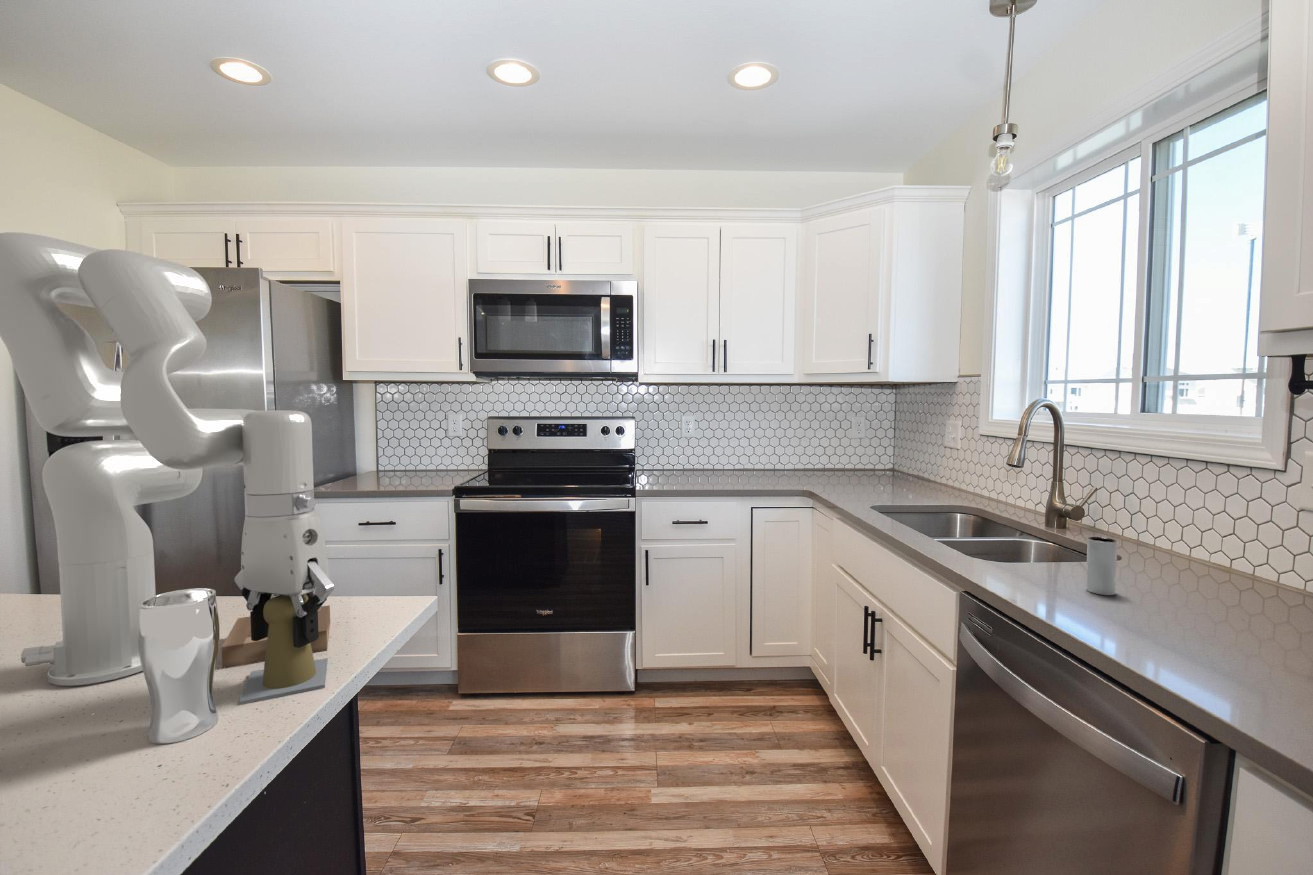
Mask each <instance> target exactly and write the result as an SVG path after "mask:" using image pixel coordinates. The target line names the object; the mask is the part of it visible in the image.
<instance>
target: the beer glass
mask: <svg viewBox="0 0 1313 875" xmlns="http://www.w3.org/2000/svg"><path fill="white" fill-rule="evenodd" d="M216 593H217V591H216V590H215V589H213V588H205V587H203V588H202V587H200V588H199V587H198V588H197V587H196V588H186V589H185V588H184V589H179V590H173V591H168V592H163V593H160V594H156V595H155V596H152V597H149V598H147V599H145V600H143V601H141V602H140V603H139V619H138V649H139V657H140V662H141V666H142V670H143V671H142V673H143V677H144V680H145V683H146V686H147V690H148V694H149V698H150V704H151V712H150V714H151V715H150V721H149V722H150V723H149V727H148V732H147V740H148V742H150V743H152V744H155V745H156V744H157V745H168V744H174V743H179V742H180V743H181V742H183V741H186V740H190V739H193V738H195V737H198V736H199V735H200V736H201V735H202V734H204V733H206V732H207V731H210V730H211V729H212V728H213V727H214V726H215V725H216V724H217V723H218V721H219V714H218V713H219V712H218V710H217V706H216V703H215V699H214V688H213V687H214V676H215V671H216V665H217V659H218V654H219V653H218V652H219V647H220V646H219V644H220V615H219V608H218V604H217V603H218V602H217V594H216Z"/></svg>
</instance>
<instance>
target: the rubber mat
mask: <svg viewBox="0 0 1313 875" xmlns="http://www.w3.org/2000/svg"><path fill="white" fill-rule="evenodd" d="M314 663H315V668H316V674H315V676H314V677H312V678H311V679H310V680H308V681H306V682H304V683H301V684H298V685H295V686H291V687H287V688H279V689H270V688H266V687H264V686H263V685H262V682H263V673H264V669H258V670H254V671H250V672H249V674H248V678H247V680H246V682H245V685H244V687H243V689H242V690H243V691H242V693H241V695H240V698H239V701H238V705H239V706H240V705H241V706H242V705H244V704H249V703H254V702H259V701H260V702H261V701H264V700H270V699H275V698H278V697H280V698H281V697H285V696H290V695H294V694H300V693H304V692H309V691H313V690H320V689H325V686H326V678H327V668H328V657H326V658H319V659H314Z"/></svg>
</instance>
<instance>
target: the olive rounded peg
mask: <svg viewBox="0 0 1313 875" xmlns="http://www.w3.org/2000/svg"><path fill="white" fill-rule="evenodd" d="M302 599H303V601H304V604H305V603H306V601H307V600H308V597H307V594H306V595H303V596H302ZM263 614H264V619H265V621H266V622H267V623H268V624H269V629H268V638H267V647H266V656H265V661H264V665H263V666H264V667H263V670H264V673H263V682H262V685H263V686H264V687H266V688H270V689H279V688H287V687H291V686H295V685H298V684H301V683H304V682H306V681H308V680H310V679H311V678H312V677H314V676H315V674H316V668H315V663H314V660H315V658H314V653H312V648H311V643H309V644H307V645H304V646H302V647H300V648H296V647H294V645H293V617H295V616H297V614H296V611H295V608H294V606H293V603H292V600H291V597H290V596H287V595H274V597H273V598H271V599H270V600H268V601H267V602H266V604H265V605H264V609H263Z"/></svg>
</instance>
